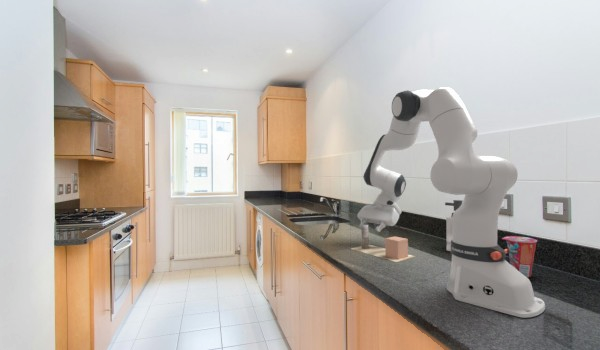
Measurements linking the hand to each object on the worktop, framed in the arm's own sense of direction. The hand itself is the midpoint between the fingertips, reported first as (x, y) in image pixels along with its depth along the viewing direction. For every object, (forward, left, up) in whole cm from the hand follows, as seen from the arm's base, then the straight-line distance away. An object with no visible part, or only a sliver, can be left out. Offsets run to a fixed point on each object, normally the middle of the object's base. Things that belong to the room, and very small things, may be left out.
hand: (368, 229), depth 129 cm
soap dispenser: (-23, -30, -9) cm, 39 cm away
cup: (-51, -17, -9) cm, 54 cm away
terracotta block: (-17, +2, -8) cm, 18 cm away
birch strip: (-9, +2, -9) cm, 13 cm away
